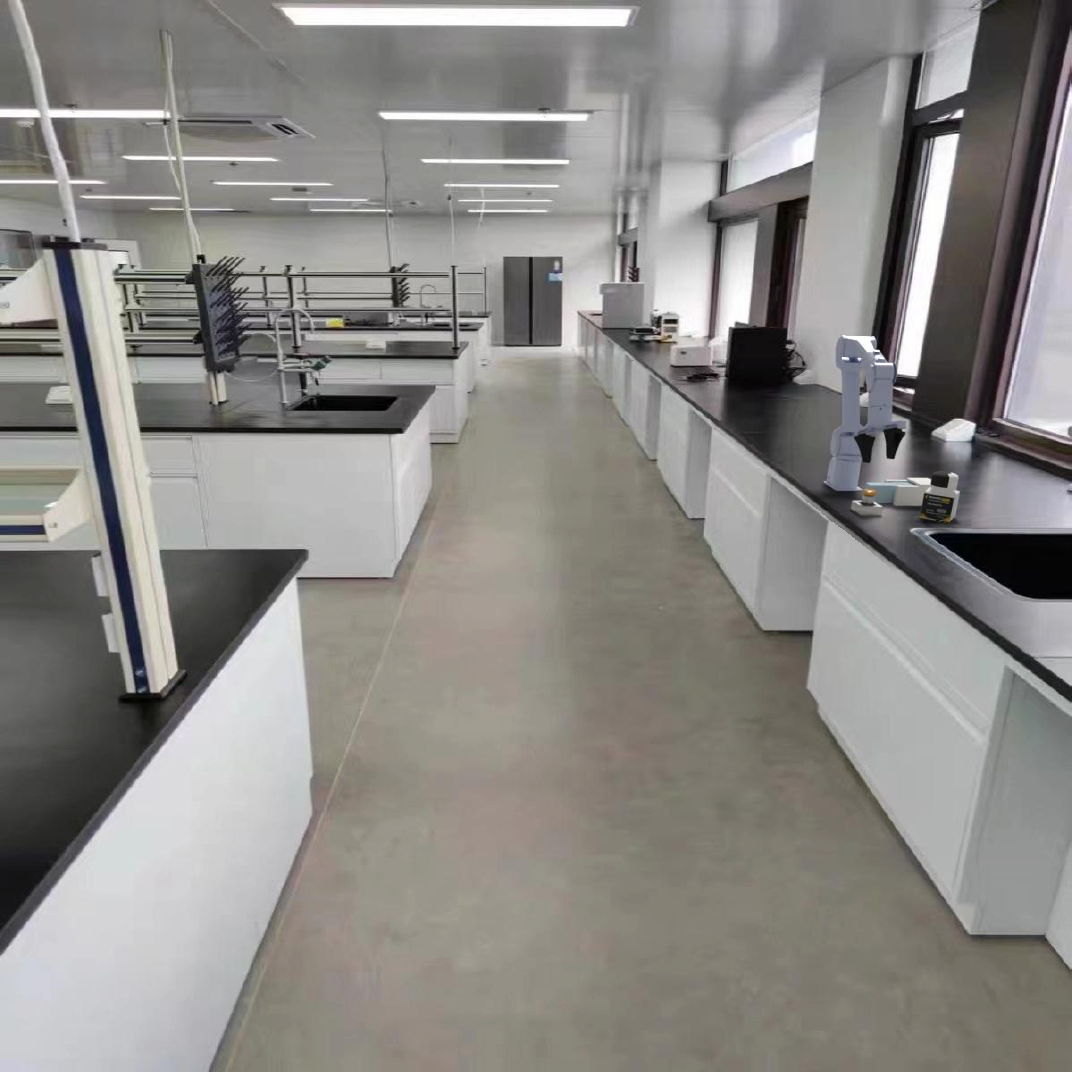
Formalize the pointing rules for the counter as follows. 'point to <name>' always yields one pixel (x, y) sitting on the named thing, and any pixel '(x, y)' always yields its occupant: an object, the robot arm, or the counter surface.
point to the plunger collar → (866, 508)
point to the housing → (910, 491)
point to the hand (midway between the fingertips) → (878, 460)
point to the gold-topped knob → (868, 497)
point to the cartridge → (886, 490)
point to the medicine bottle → (941, 497)
